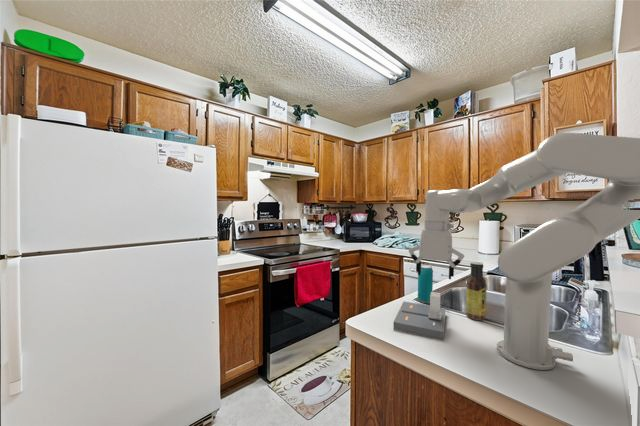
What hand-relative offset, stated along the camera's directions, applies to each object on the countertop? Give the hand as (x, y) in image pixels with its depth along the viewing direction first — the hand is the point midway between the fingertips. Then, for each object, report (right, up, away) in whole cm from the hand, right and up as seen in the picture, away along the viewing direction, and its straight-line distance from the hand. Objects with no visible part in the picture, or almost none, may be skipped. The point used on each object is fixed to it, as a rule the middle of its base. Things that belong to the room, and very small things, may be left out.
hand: (434, 276), depth 89 cm
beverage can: (+5, -16, +21) cm, 27 cm away
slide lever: (0, -14, 0) cm, 14 cm away
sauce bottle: (+18, -17, +6) cm, 25 cm away
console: (-4, -17, +2) cm, 17 cm away
